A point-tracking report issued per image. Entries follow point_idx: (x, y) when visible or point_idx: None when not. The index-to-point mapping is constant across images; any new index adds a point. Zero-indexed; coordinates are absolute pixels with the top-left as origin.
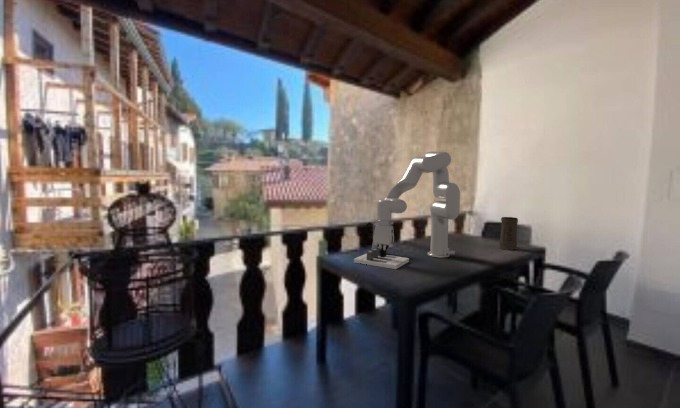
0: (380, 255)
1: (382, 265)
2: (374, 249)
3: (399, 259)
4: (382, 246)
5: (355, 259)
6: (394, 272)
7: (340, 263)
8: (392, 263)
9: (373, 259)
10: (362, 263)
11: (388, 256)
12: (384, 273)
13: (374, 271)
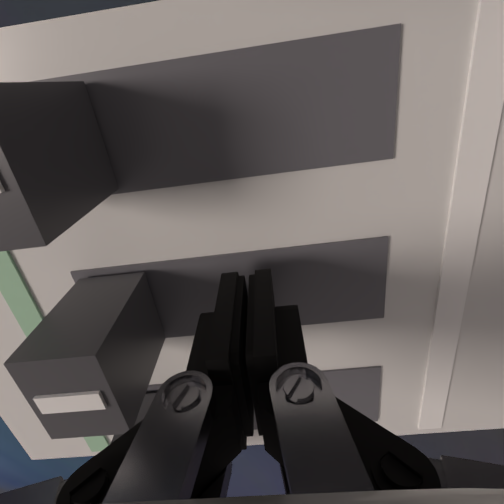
0: (117, 186)
1: None
2: (66, 410)
3: (499, 178)
4: (195, 444)
5: (51, 453)
6: (500, 457)
7: (17, 484)
8: (458, 397)
9: None
10: None
11: (248, 124)
12: None
13: None
